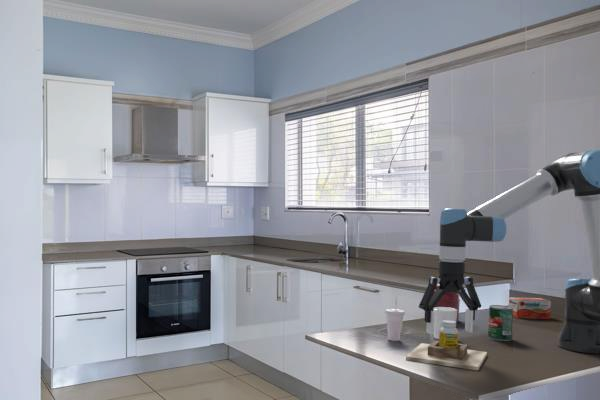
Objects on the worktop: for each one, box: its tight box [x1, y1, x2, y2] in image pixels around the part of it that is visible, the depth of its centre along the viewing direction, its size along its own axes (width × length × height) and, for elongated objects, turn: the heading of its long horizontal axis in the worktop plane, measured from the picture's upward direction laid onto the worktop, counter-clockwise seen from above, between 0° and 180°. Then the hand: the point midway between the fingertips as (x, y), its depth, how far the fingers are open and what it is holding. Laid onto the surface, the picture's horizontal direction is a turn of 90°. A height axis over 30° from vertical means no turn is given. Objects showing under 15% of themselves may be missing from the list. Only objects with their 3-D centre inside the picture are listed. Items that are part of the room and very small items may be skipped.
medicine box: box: [508, 297, 552, 320], centre depth 257 cm, size 15×8×8 cm, turn 98°
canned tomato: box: [487, 304, 514, 342], centre depth 208 cm, size 8×8×11 cm
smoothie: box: [384, 296, 406, 342], centre depth 198 cm, size 6×6×14 cm
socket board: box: [405, 339, 488, 371], centre depth 177 cm, size 20×20×4 cm
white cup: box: [433, 307, 457, 340], centre depth 204 cm, size 8×8×10 cm
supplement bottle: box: [438, 320, 459, 349], centre depth 177 cm, size 5×5×10 cm
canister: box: [432, 283, 461, 323], centre depth 239 cm, size 13×13×18 cm
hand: (449, 332), depth 177 cm, fingers open, 13 cm apart
